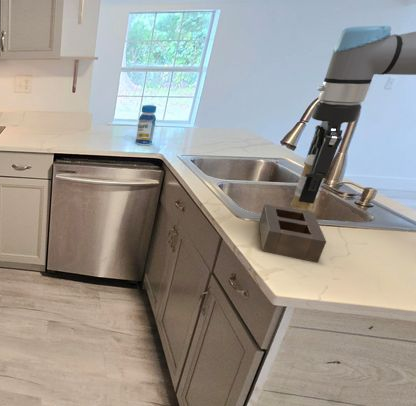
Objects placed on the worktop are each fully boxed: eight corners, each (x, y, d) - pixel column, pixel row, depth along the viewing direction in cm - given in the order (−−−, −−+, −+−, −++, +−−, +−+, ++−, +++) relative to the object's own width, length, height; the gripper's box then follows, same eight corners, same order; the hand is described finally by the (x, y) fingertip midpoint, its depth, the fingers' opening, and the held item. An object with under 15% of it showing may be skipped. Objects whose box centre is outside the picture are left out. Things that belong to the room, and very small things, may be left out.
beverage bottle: (155, 144, 195) (162, 106, 187) (142, 146, 193) (148, 107, 185) (144, 141, 202) (150, 104, 194) (131, 142, 200) (137, 105, 192)
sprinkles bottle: (314, 213, 89) (334, 160, 83) (290, 209, 91) (308, 157, 86) (311, 206, 92) (330, 155, 87) (288, 203, 95) (306, 152, 89)
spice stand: (306, 230, 104) (313, 211, 102) (317, 262, 89) (326, 241, 87) (258, 222, 110) (264, 204, 107) (262, 251, 95) (269, 230, 92)
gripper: (310, 96, 90) (281, 185, 99) (323, 107, 77) (289, 207, 86) (352, 98, 86) (318, 190, 95) (373, 109, 73) (331, 214, 82)
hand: (304, 198), depth 91 cm, fingers closed on sprinkles bottle, 4 cm apart
